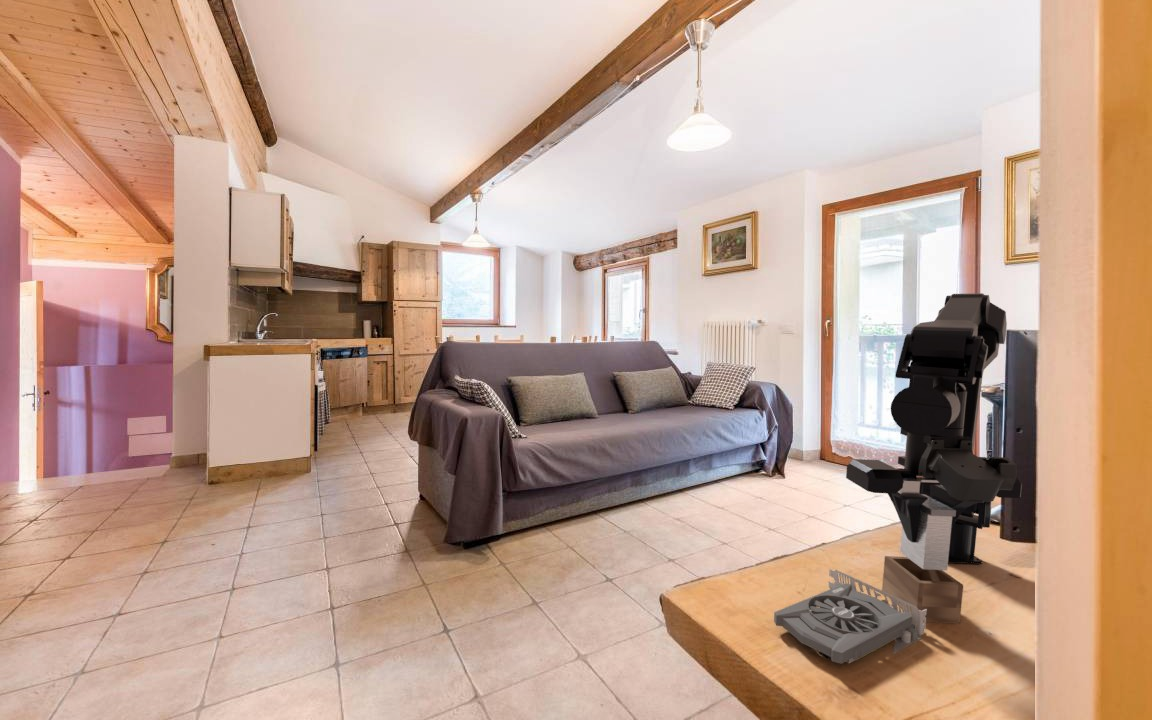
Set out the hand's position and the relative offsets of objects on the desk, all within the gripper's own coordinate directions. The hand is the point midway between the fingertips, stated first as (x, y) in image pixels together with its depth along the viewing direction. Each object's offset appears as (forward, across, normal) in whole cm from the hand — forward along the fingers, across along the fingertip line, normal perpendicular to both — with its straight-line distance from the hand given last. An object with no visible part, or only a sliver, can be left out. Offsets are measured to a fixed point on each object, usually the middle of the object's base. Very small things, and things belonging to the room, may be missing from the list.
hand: (924, 541), depth 63 cm
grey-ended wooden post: (+3, 0, 0) cm, 3 cm away
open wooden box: (+9, 0, 0) cm, 9 cm away
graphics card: (+10, -13, -5) cm, 17 cm away
